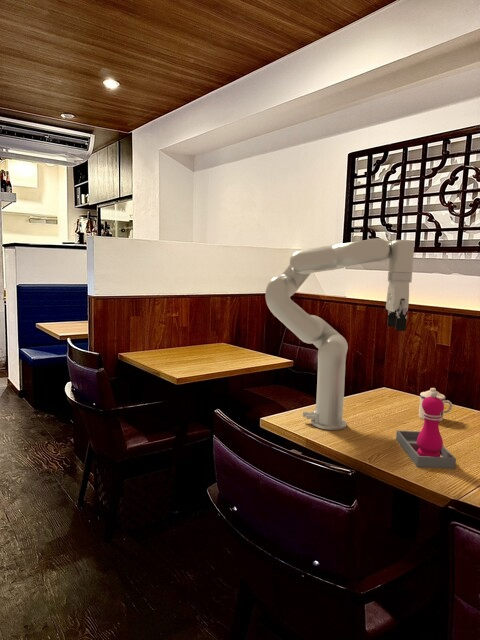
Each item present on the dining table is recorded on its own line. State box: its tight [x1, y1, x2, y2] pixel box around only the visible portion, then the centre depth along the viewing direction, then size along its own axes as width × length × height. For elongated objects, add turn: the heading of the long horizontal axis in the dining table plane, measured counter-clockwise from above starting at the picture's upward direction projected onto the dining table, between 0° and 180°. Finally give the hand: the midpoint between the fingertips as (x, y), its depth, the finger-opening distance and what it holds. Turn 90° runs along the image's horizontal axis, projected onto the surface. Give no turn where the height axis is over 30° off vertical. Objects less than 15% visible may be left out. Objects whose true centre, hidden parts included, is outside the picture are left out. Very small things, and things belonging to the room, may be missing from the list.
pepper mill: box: [417, 392, 445, 457], centre depth 134 cm, size 7×7×20 cm
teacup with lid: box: [418, 387, 453, 422], centre depth 173 cm, size 12×9×12 cm
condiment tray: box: [395, 429, 457, 470], centre depth 140 cm, size 11×21×3 cm, turn 177°
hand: (396, 328), depth 153 cm, fingers open, 9 cm apart
